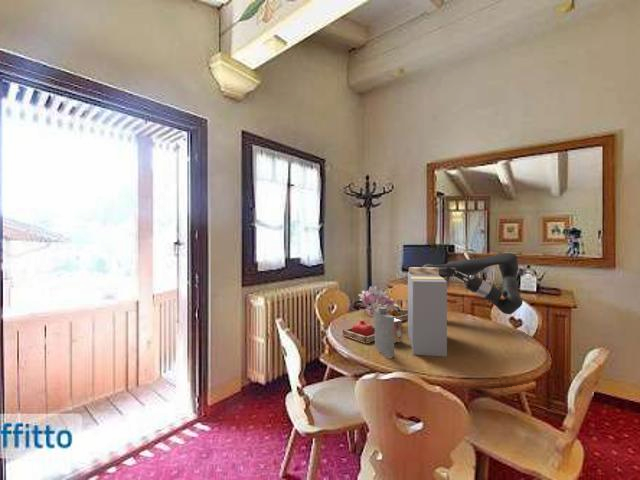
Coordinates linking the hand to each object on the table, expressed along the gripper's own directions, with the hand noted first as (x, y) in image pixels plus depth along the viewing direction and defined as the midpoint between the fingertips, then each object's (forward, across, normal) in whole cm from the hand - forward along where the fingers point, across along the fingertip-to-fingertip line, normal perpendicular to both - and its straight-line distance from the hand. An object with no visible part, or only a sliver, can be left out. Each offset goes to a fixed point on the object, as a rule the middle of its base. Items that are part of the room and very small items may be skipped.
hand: (445, 268), depth 165 cm
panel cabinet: (-8, +7, +36) cm, 37 cm away
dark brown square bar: (+4, 0, +6) cm, 7 cm away
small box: (+5, +7, +44) cm, 45 cm away
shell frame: (+5, -42, +44) cm, 61 cm away
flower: (+11, -19, +47) cm, 52 cm away
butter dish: (+17, +1, +51) cm, 54 cm away
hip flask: (+9, +22, +46) cm, 51 cm away
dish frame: (+17, +2, +50) cm, 53 cm away
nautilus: (+5, -40, +44) cm, 60 cm away
